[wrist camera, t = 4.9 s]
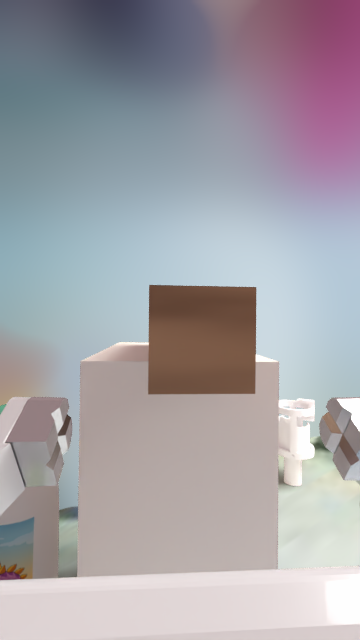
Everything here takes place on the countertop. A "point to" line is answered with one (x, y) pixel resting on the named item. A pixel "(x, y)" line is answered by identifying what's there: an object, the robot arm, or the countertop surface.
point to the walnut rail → (202, 340)
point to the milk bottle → (30, 534)
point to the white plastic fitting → (295, 438)
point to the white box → (174, 472)
